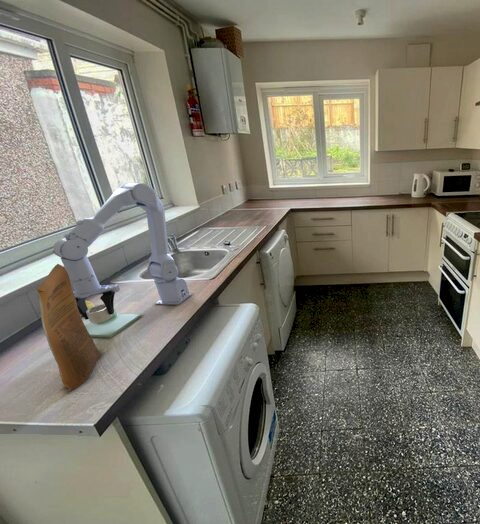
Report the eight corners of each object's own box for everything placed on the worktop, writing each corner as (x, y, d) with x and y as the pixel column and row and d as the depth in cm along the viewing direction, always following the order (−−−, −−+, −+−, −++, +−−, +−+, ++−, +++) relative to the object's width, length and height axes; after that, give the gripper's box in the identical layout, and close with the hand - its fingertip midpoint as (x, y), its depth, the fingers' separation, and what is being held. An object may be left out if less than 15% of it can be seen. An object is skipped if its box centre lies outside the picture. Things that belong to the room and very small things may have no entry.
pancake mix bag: (112, 344, 87) (73, 259, 76) (90, 389, 71) (37, 288, 60) (84, 351, 84) (40, 264, 73) (55, 399, 68) (-7, 296, 57)
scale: (141, 316, 101) (139, 310, 100) (110, 337, 90) (107, 331, 89) (107, 314, 103) (104, 309, 102) (72, 336, 92) (69, 329, 91)
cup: (117, 314, 94) (113, 304, 93) (101, 324, 89) (96, 313, 88) (102, 314, 95) (98, 303, 94) (85, 324, 90) (80, 313, 89)
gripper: (45, 288, 81) (65, 328, 86) (107, 277, 86) (123, 316, 91) (57, 278, 87) (76, 316, 92) (115, 268, 92) (129, 305, 97)
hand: (100, 315), depth 92 cm, fingers closed on cup, 6 cm apart
